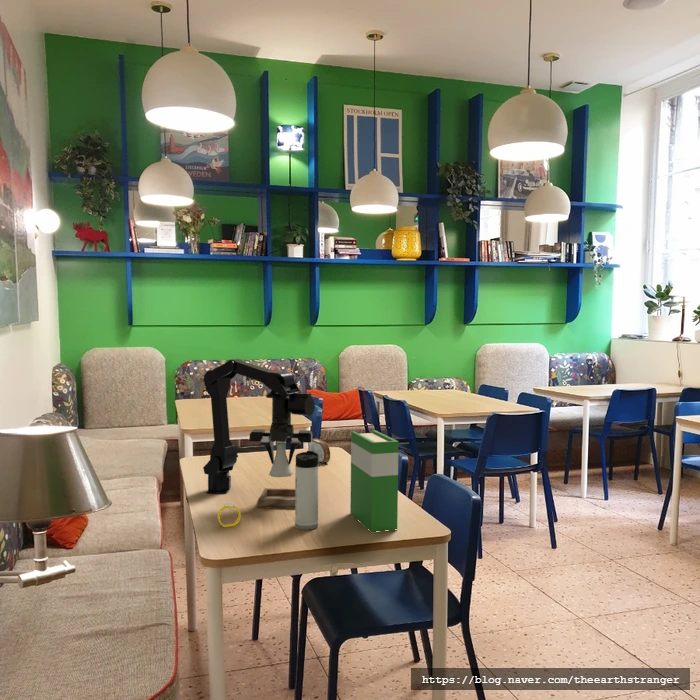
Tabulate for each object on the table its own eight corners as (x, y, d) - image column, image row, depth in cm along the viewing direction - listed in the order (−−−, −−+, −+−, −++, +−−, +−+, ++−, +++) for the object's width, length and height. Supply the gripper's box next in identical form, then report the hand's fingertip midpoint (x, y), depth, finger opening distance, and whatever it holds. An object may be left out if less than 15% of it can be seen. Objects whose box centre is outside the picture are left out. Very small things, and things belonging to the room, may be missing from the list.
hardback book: (350, 513, 181) (351, 431, 180) (374, 511, 184) (375, 430, 182) (371, 533, 164) (372, 442, 163) (397, 530, 167) (398, 441, 166)
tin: (330, 464, 243) (331, 443, 242) (323, 465, 241) (323, 443, 241) (313, 457, 256) (313, 436, 255) (306, 457, 254) (306, 437, 254)
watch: (238, 524, 171) (240, 502, 171) (240, 527, 169) (242, 505, 169) (216, 525, 169) (218, 503, 169) (218, 528, 167) (219, 506, 166)
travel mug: (321, 523, 172) (321, 451, 171) (314, 530, 166) (314, 456, 165) (299, 521, 173) (299, 450, 172) (291, 529, 167) (292, 454, 166)
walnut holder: (258, 507, 186) (258, 499, 186) (265, 496, 198) (265, 488, 198) (298, 508, 186) (298, 499, 185) (302, 496, 198) (302, 488, 197)
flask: (293, 477, 188) (293, 444, 188) (269, 478, 187) (269, 445, 186) (291, 472, 195) (292, 440, 195) (268, 472, 194) (268, 440, 194)
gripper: (246, 416, 183) (245, 469, 183) (309, 417, 182) (309, 470, 183) (253, 411, 194) (252, 460, 195) (312, 412, 193) (312, 462, 194)
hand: (281, 463), depth 191 cm, fingers closed on flask, 5 cm apart
